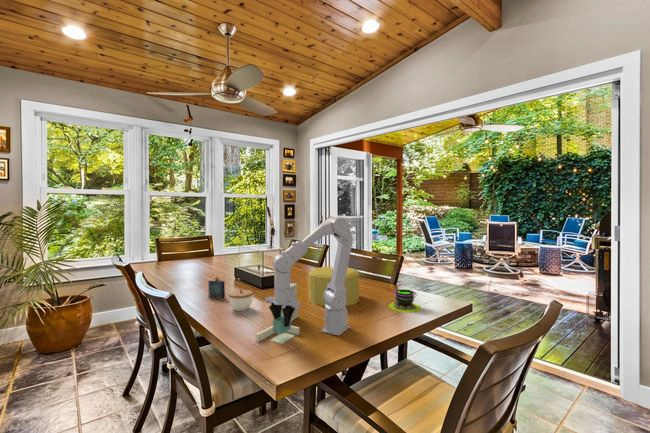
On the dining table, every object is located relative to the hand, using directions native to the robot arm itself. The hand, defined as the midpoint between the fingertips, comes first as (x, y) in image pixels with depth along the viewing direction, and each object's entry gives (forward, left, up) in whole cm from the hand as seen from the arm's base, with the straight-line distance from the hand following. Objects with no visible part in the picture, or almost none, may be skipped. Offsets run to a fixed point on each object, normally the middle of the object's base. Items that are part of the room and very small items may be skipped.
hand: (282, 325), depth 118 cm
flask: (-25, -62, -5) cm, 67 cm away
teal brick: (0, 0, -2) cm, 2 cm away
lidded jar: (-17, -37, -5) cm, 41 cm away
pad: (0, 0, -5) cm, 5 cm away
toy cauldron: (-58, +29, -5) cm, 65 cm away
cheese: (-53, -7, -5) cm, 54 cm away
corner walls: (0, -2, -5) cm, 5 cm away
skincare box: (-17, -10, -5) cm, 20 cm away
